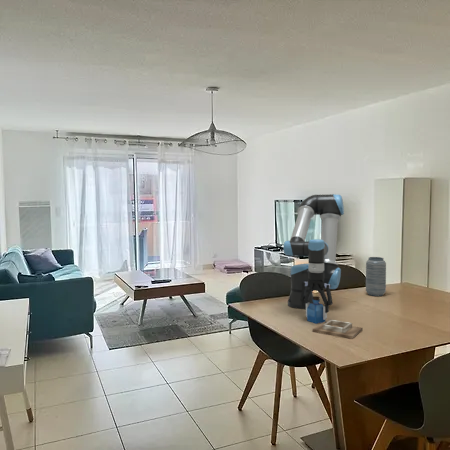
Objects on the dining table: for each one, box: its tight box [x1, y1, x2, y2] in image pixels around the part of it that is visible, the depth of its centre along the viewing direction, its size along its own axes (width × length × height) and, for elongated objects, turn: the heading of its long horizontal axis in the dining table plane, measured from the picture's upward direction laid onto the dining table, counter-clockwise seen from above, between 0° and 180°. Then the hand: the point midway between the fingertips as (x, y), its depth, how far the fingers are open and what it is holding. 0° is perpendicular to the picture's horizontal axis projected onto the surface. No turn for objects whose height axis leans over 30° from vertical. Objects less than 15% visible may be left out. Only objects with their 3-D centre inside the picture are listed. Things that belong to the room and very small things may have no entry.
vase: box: [365, 256, 387, 297], centre depth 256 cm, size 12×12×23 cm
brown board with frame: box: [311, 319, 363, 340], centre depth 187 cm, size 18×14×3 cm
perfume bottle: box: [306, 295, 326, 325], centre depth 202 cm, size 6×6×12 cm
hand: (316, 317), depth 202 cm, fingers closed on perfume bottle, 8 cm apart
